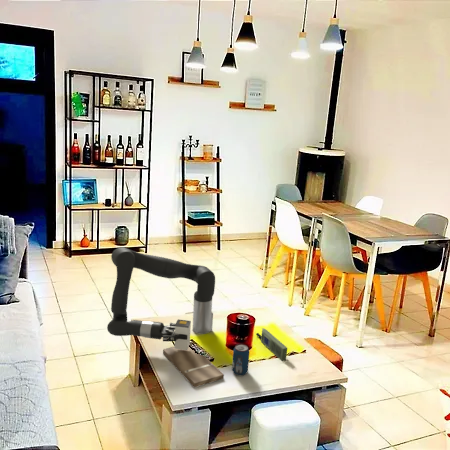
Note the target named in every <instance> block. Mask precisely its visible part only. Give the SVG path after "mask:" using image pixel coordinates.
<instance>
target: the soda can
mask: <svg viewBox="0 0 450 450" xmlns="http://www.w3.org/2000/svg"><path fill="white" fill-rule="evenodd" d="M232 351H233V352H232V364H231V371H232V372H233V374H234V375H235V376H238V377H241V376H245V375H246V374H247V373H248V371H249V364H250V363H249V360H250V349H249V347H248V345H246V344H243V343H238V344H236V345H235V346H234V348H233V350H232Z"/></svg>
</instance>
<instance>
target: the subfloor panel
mask: <svg viewBox="0 0 450 450" xmlns="http://www.w3.org/2000/svg"><path fill="white" fill-rule="evenodd" d="M162 354H163V355H164V356H165V358H167V359H168V360H169V361H170V362H171V364H172V365H173V366H174V367H175V368H176V369H177V370H178V372H180V373H181V375H183V377H184V378H185V379H186V381H188V382H189V383H190V385H191V386H192V387H193V388H198V387H200V386H203V385H204V386H205V385H207V384H210V383H213V382H217V381H220V380H223V379H224V376H225V374H224V373H223V372H222V371H221V370H220V369H219V368H217V366H216V365H214V363H212V362H211V361H210V360H209V359H208V358H207V357H206V356H205V355H204V354H203V355H204V356H203V355H200V354H197V353H195V351H194V350H192V349H191V348H190V347H189V348H188V350H182V349H174V346H172V347H171V346H170V347H166V348H163V349H162Z"/></svg>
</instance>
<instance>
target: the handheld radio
mask: <svg viewBox="0 0 450 450" xmlns="http://www.w3.org/2000/svg"><path fill="white" fill-rule="evenodd" d="M261 329H262V330H261V334H259V332H257V333H256V336H257V338H259V339H260V342H261V343H262V344H263V346H264V347H266V348H267V349H268V350H269V351H270V352H271V353H273V354H274V355H275V356H276V357H277V358H278V359H279V360H280V361H281V362H285V361H286V360H287V354H288V347H287V345H285V344H284V343H282V342H281V341H280V340H279V339H278V338H276V337H275V335H273V334H272V333H271V332H270V331H269V330H268V329H266V328H263V327H262V328H261Z"/></svg>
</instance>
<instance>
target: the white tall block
mask: <svg viewBox="0 0 450 450" xmlns="http://www.w3.org/2000/svg"><path fill="white" fill-rule="evenodd" d="M191 323H192V322H191V320H187V319H177V320H176V322H175V330H174V332H175V333H178V334H185V335H187V340H184V339H178V340H176V341H174V345H173V347H174V349H182V350H188V348H189V345H190V343H191V326H192V324H191Z"/></svg>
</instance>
